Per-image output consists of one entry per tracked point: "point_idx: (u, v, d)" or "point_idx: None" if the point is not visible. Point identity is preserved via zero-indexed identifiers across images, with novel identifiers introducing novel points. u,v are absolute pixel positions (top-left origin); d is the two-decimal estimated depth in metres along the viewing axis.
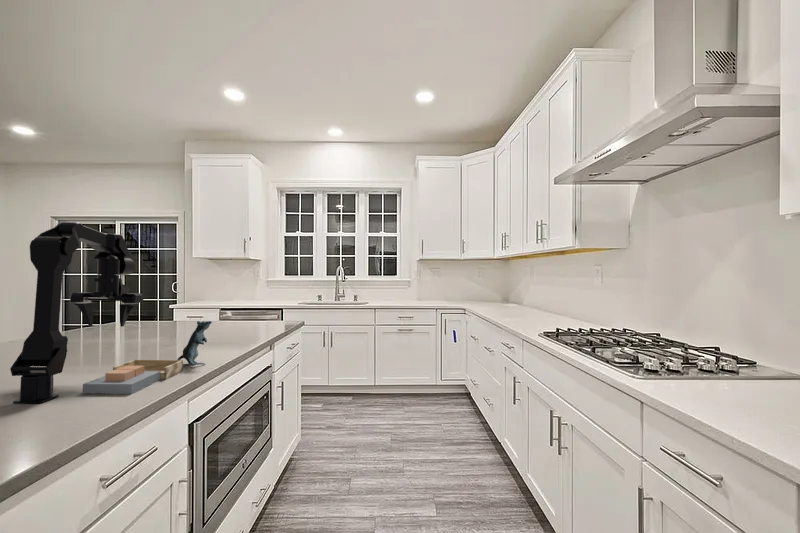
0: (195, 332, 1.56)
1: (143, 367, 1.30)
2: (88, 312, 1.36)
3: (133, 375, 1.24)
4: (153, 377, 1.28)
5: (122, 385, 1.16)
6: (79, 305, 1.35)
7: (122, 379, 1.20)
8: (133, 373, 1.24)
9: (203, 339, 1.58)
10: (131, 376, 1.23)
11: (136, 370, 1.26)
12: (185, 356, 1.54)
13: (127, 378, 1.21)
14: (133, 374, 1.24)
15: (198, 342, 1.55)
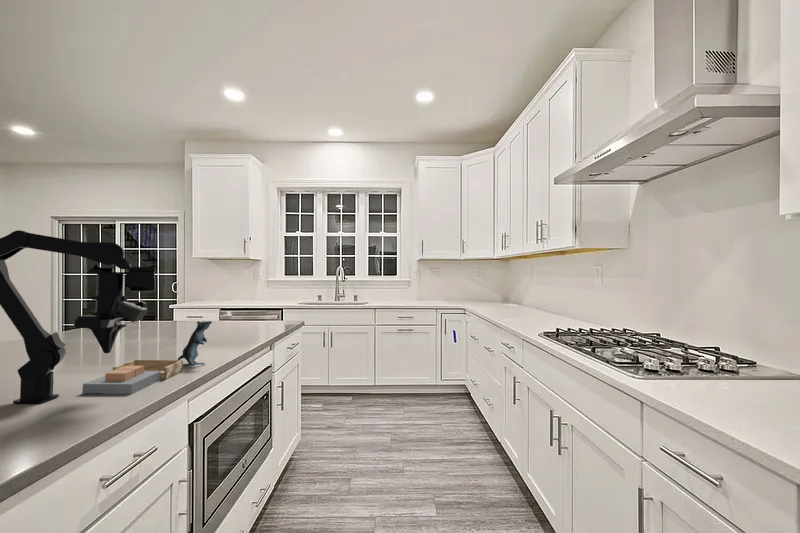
0: (195, 332, 1.56)
1: (143, 367, 1.30)
2: None
3: (133, 375, 1.24)
4: (153, 377, 1.28)
5: (122, 385, 1.16)
6: None
7: (122, 379, 1.20)
8: (133, 373, 1.24)
9: (203, 339, 1.58)
10: (131, 376, 1.23)
11: (136, 370, 1.26)
12: (185, 356, 1.54)
13: (127, 378, 1.21)
14: (133, 374, 1.24)
15: (198, 342, 1.55)
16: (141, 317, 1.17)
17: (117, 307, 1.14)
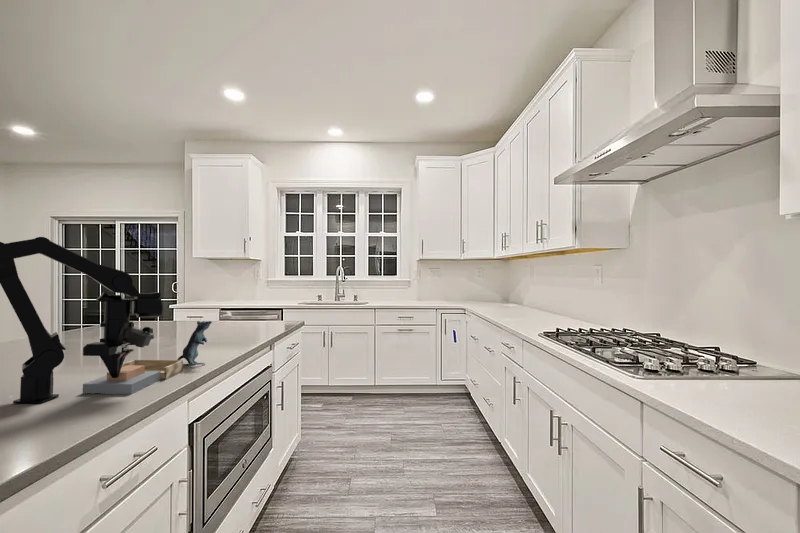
0: (195, 332, 1.56)
1: (143, 367, 1.30)
2: None
3: (134, 374, 1.25)
4: (153, 377, 1.28)
5: (122, 385, 1.16)
6: None
7: (123, 378, 1.20)
8: (135, 373, 1.25)
9: (203, 339, 1.58)
10: (132, 375, 1.24)
11: (136, 370, 1.26)
12: (185, 356, 1.54)
13: (128, 377, 1.22)
14: (134, 373, 1.25)
15: (198, 342, 1.55)
16: (148, 342, 1.21)
17: (124, 334, 1.17)
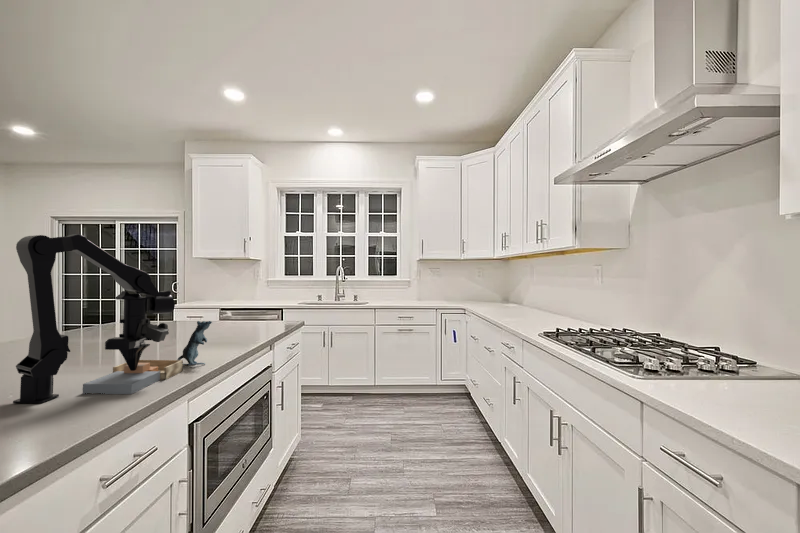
0: (195, 332, 1.56)
1: (157, 368, 1.39)
2: None
3: (148, 368, 1.34)
4: (153, 377, 1.28)
5: (122, 385, 1.16)
6: None
7: (140, 371, 1.30)
8: (149, 366, 1.34)
9: (203, 339, 1.58)
10: (147, 369, 1.33)
11: (152, 370, 1.35)
12: (185, 356, 1.54)
13: (144, 370, 1.31)
14: (148, 367, 1.34)
15: (198, 342, 1.55)
16: (163, 338, 1.30)
17: (142, 329, 1.27)
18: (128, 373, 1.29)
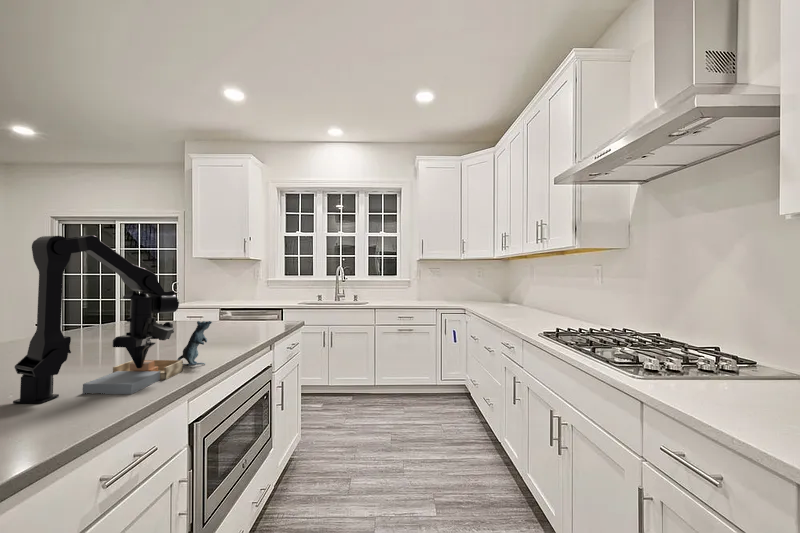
0: (195, 332, 1.56)
1: (157, 368, 1.39)
2: None
3: (153, 365, 1.38)
4: (153, 377, 1.28)
5: (122, 385, 1.16)
6: None
7: (145, 369, 1.33)
8: (153, 364, 1.38)
9: (203, 339, 1.58)
10: (152, 366, 1.37)
11: (152, 370, 1.35)
12: (185, 356, 1.54)
13: (149, 368, 1.35)
14: (153, 364, 1.38)
15: (198, 342, 1.55)
16: (169, 336, 1.34)
17: (148, 328, 1.30)
18: (128, 373, 1.29)
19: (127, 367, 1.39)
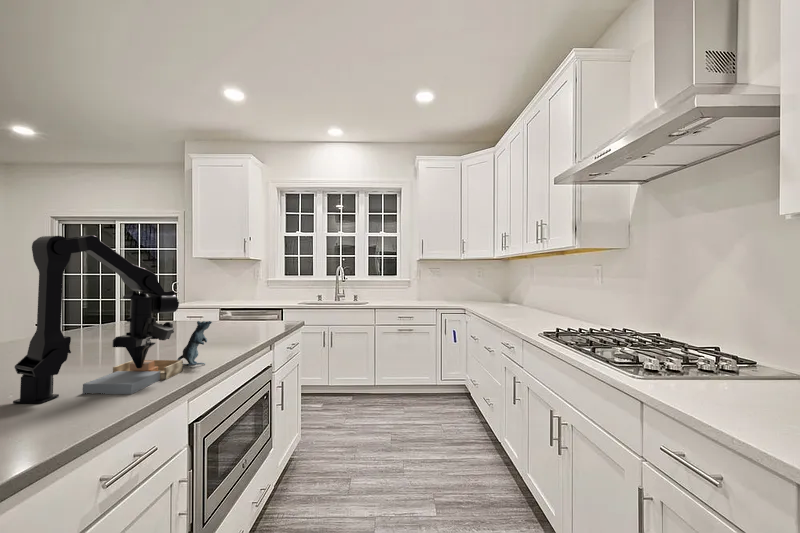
0: (195, 332, 1.56)
1: (157, 368, 1.39)
2: None
3: (153, 365, 1.38)
4: (153, 377, 1.28)
5: (122, 385, 1.16)
6: None
7: (145, 369, 1.33)
8: (153, 364, 1.38)
9: (203, 339, 1.58)
10: (152, 366, 1.37)
11: (152, 370, 1.35)
12: (185, 356, 1.54)
13: (149, 368, 1.35)
14: (153, 364, 1.38)
15: (198, 342, 1.55)
16: (169, 336, 1.34)
17: (148, 328, 1.30)
18: (128, 373, 1.29)
19: (127, 367, 1.39)
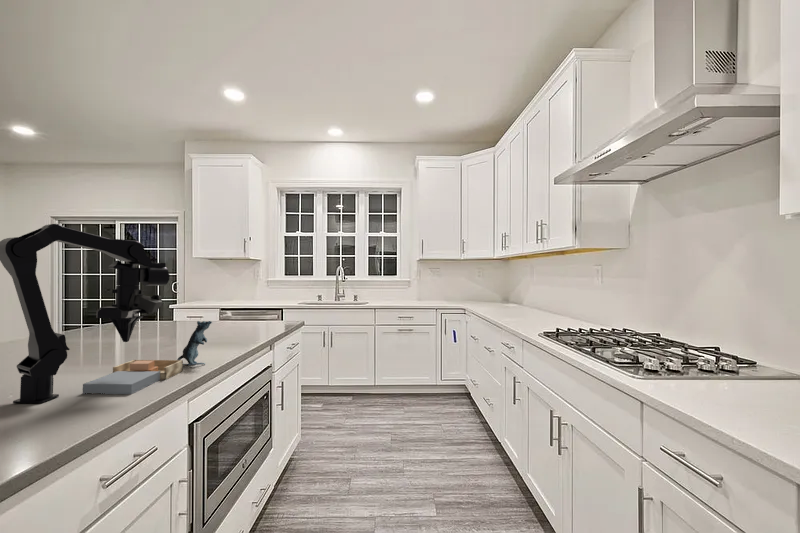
0: (195, 332, 1.56)
1: (157, 368, 1.39)
2: None
3: (153, 365, 1.38)
4: (153, 377, 1.28)
5: (122, 385, 1.16)
6: None
7: (145, 369, 1.33)
8: (153, 364, 1.38)
9: (203, 339, 1.58)
10: (152, 366, 1.37)
11: (152, 370, 1.35)
12: (185, 356, 1.54)
13: (149, 368, 1.35)
14: (153, 364, 1.38)
15: (198, 342, 1.55)
16: (157, 309, 1.28)
17: (135, 299, 1.24)
18: (128, 373, 1.29)
19: (127, 367, 1.39)
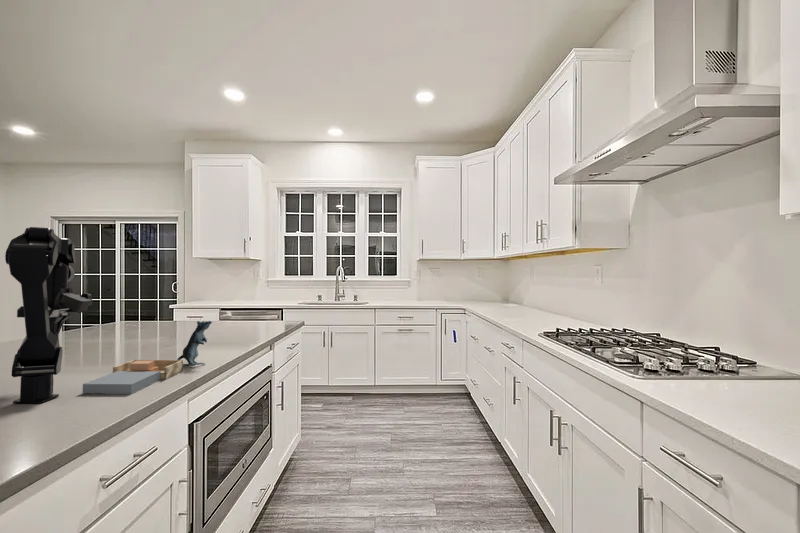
0: (195, 332, 1.56)
1: (157, 368, 1.39)
2: None
3: (153, 365, 1.38)
4: (153, 377, 1.28)
5: (122, 385, 1.16)
6: None
7: (145, 369, 1.33)
8: (153, 364, 1.38)
9: (203, 339, 1.58)
10: (152, 366, 1.37)
11: (152, 370, 1.35)
12: (185, 356, 1.54)
13: (149, 368, 1.35)
14: (153, 364, 1.38)
15: (198, 342, 1.55)
16: (85, 308, 1.25)
17: (61, 298, 1.21)
18: (128, 373, 1.29)
19: (127, 367, 1.39)
